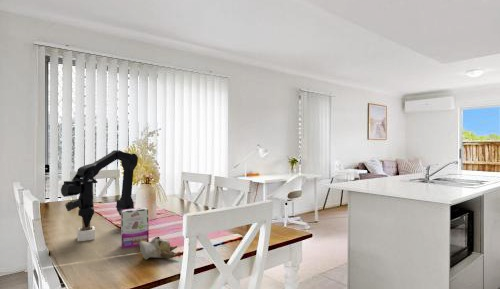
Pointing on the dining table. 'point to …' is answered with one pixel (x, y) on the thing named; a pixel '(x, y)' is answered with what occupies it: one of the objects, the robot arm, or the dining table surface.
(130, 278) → the dining table surface
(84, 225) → the dowel
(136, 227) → the candy bar box
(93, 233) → the white square frame
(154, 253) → the ceramic sculpture
